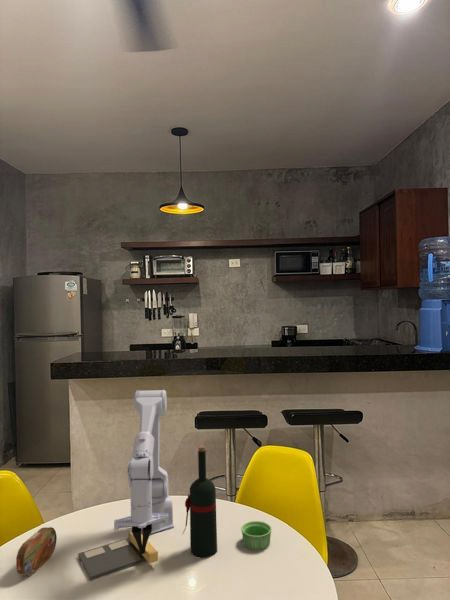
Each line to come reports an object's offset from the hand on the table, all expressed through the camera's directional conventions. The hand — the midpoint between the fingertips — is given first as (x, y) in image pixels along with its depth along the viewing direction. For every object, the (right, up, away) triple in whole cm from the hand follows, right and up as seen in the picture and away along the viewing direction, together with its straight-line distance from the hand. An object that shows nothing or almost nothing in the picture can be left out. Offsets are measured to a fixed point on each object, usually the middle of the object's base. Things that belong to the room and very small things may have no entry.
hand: (142, 551), depth 120 cm
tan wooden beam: (-1, -2, +6) cm, 6 cm away
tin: (-30, -5, +2) cm, 30 cm away
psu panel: (-9, -4, +4) cm, 11 cm away
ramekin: (+32, -4, +11) cm, 34 cm away
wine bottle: (+15, -4, +8) cm, 18 cm away
